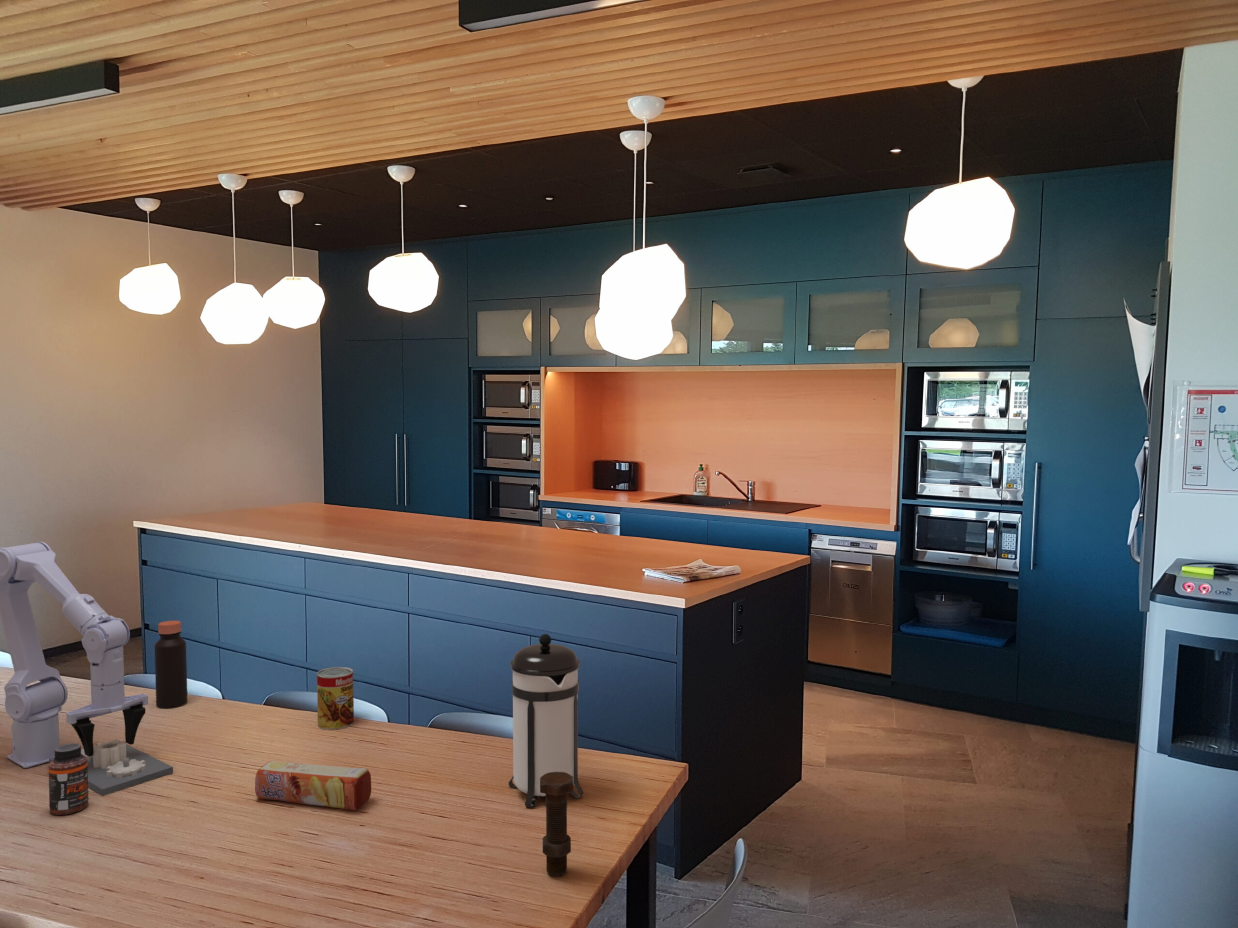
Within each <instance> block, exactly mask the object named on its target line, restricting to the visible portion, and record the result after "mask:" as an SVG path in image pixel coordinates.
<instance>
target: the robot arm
mask: <svg viewBox="0 0 1238 928" xmlns="http://www.w3.org/2000/svg"><path fill="white" fill-rule="evenodd" d="M35 582H37V583H38V584H40V586H41V587H43V588H44V589H45V590H46V591H47V592H48V593H49V594H50V595H51V596H53V597H54V598H55V599H56V600H57V601H58V602H59V603H60V604H61V605H62V610H61V612H62V613H61V614H62V615H63V616H64V617H65V619H66V620H67V621H68V622H70V624H71V625H72V626H73V627H74V628H75V629H76V631H77V632H79V634H81V636H82V638H81V643H82V644H81V645H82V647H83V648H84V650H85V652H86V659H87V660H88V661H87V662H88V663H89V664H90V665H89V668H90V669H89V670H90V695H91V696H90V699H91V700H90V701H91V703H90V704H88V705H86V706H83V707H79V708H76V709H74V710H71V711H67V712H65V713H66V714H65V718H66V721H65V722H66V723H67V724H70V725H71V726H72V728H73V729H74V730H75V732H76V733H77V736H78V738H79V740H80V742H81V745H82V749H83V748H84V752H85V755H87V756H89V757H90V756H93V752H94V750H93V742H94V731H95V726H96V725H95V723H93V722H92V721H91V720H90V719H92V718H96V717H101V716H105V715H108V714H112V713H117V712H121V711H122V715H123V721H124V738H125V740H124V741H125V742H126V744H127V745H129V746H131V745H134V744H135V740H136V735H137V732H138V729H139V726H140V724H141V722H142V719H143V717H144V716H145V714H146V711H147V710H146V707H145V706H147V705H149V695H148V694H146V693H140V694H135V695H129V696H125V667H124V663H125V661H124V646H125V645H127V643H129V641H130V637H131V635H130V634H131V632H130V631H131V630H130V627H129V626H128V624H127V623H126V621H125V620H124V619H122V618H119V617H114V615H109V614H108V613H107V612H106V611H105V609H104V608H102V607H101V606H100V605H99V604H98V603H97V601H96V599H95V598H94V597H93V596H92V595H90V594H88V593H80V592H79V591H78V590H77V589H76V588H75V586H74V585H73V584H72V583H71V581H70V580H69V579H68V577H67V576H66V575H65V574H64V572H63V571H62V570H61V568H60V567H59V566H58V565H57V554H56V553H55V552H54V551H53V550H52V548H51V547H50V546H49V545H48V544H47V543H46V542H44V541H36V542H32V543H27V544H22V545H21V544H20V545H19V544H18V545H15V546H8V547H0V620H1V625H2V628H3V631H4V636H5V640H6V644H7V647H8V652H9V655H10V660H11V662H12V668H13V671H14V674H13V675H12V677H11V678H10V679H9V680H8V682H7V683H6V684H5V685H4V687H3V689H4V692H5V693H4V694H5V700H4V708H5V710H6V713H7V715H8V716H9V717H10V718H11V719H12V721H13V722H12V723H11V728H10V729H11V747H12V748H11V750H12V753H11V754H8V755H7V756H6V758H7V759H8V760H10V761H12V762H13V763H16V765H18V766H19V767H22V768H23V769H28V768H32V767H35V766H39V765H42V764H45V763H46V764H47V763H49V758H53V757H55V756H54V755H55V748H57V747H58V746H61V745H60V742H61V741H60V722H59V720H60V719H59V716H60V715H59V713H60V712H62V710H63V709H62V706H64V705H65V704H66V703H67V700H68V697H69V693H68V687H67V686H66V685H67V684H65V682H64V681H63V679H62V678H61V675H60V671H59V670H58V669H56V668H54V667H51V666H49V665H47V663H46V659H45V656H44V652H43V648H42V645H41V640H40V636H39V634H38V633H39V632H38V630H37V625H36V621H35V617H34V614H33V609H32V606H31V602H30V598H29V594H28V591H29V589H30V588H31V586H32V584H33V583H35ZM38 681H39V682H38ZM34 682H36V683H34ZM32 683H33V684H32ZM29 684H30V685H29Z"/></svg>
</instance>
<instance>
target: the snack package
mask: <svg viewBox="0 0 1238 928" xmlns="http://www.w3.org/2000/svg"><path fill="white" fill-rule="evenodd" d="M254 781H255V782H254V792H255V795H256V797H257V798H258V799H260V800H271V801H272V800H273V801H274V800H275V801H280V802H287V803H293V804H301V805H308V806H309V805H310V806H318V807H319V806H321V807H327V808H334V809H335V808H336V809H340V810H342V809H343V810H349V811H353V812H354V811H358V810H360V809H362V807H364V806H365V805H366V804H367V802H368V801H369V800H370V798H371V794H372V775H371V772H370V770H369V769H368V768H365V767H364V768H363V767H362V768H360V767H359V768H357V767H347V766H346V767H345V766H333V765H331V766H330V765H321V764H309V763H298V762H281V761H276V760H269V761H268V762H266V763H265V764H263V765H261V766H260V767H259V768H258V770H257V772H256V774H255V779H254Z"/></svg>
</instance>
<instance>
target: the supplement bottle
mask: <svg viewBox="0 0 1238 928" xmlns="http://www.w3.org/2000/svg"><path fill="white" fill-rule="evenodd" d="M81 745H82V744H80V743H76V742H73V743H65V744H62V745H60V746H58V747H57V748H55V755H54V756H55V758H54V760H52V761H51V762H50V764H49V763H48V795H49V798H48V800H49V801H48V802H49V804H48V805H49V812H50V813H51V814H53V815H56V816H57V815H58V816H59V815H60V816H65V815H66V816H67V815H71V814H74V813H77V812H78V813H79V812H80V811H83V809H85V808H86V807H87V806H88V805H89V787H88V766H87V758H86V757H85V756H84V755H82V754H81V749H82V746H81Z"/></svg>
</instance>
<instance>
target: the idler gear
mask: <svg viewBox="0 0 1238 928" xmlns="http://www.w3.org/2000/svg"><path fill="white" fill-rule="evenodd" d="M118 740H119V739H113V740H110V741H111V742H110V741H102V742H101V743H99V744H100V745H99V744H98V745H97V746H94V747H93V750H94V752H93V763H94V767H95V768H97V767H101V768H102V769H106V768H107V767H108V766H113V765H115V764H116V763H117V762H120V761H121V762H123V759H124V758H126V744H127V743H126V740H122V741H121V740H119V741H118ZM108 745H112V746H113V747H111V748H107V746H108Z"/></svg>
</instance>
